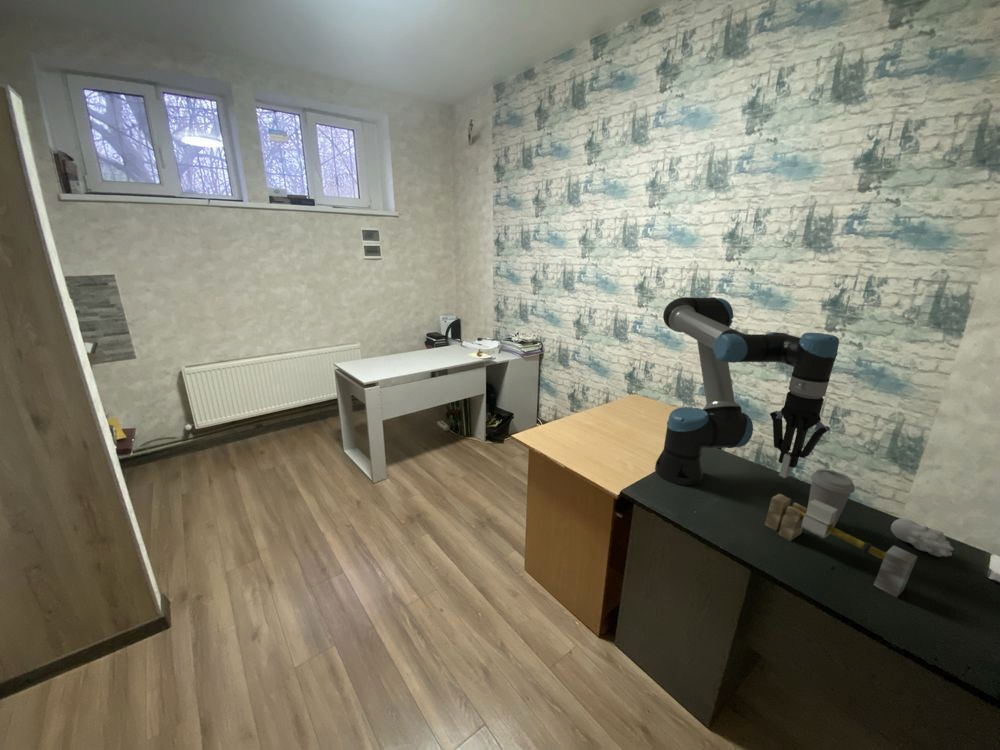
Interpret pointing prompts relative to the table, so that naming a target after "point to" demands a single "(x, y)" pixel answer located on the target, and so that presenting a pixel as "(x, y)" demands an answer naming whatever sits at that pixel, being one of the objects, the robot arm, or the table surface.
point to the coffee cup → (831, 489)
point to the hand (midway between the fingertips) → (784, 475)
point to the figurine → (922, 537)
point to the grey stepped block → (819, 518)
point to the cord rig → (894, 560)
